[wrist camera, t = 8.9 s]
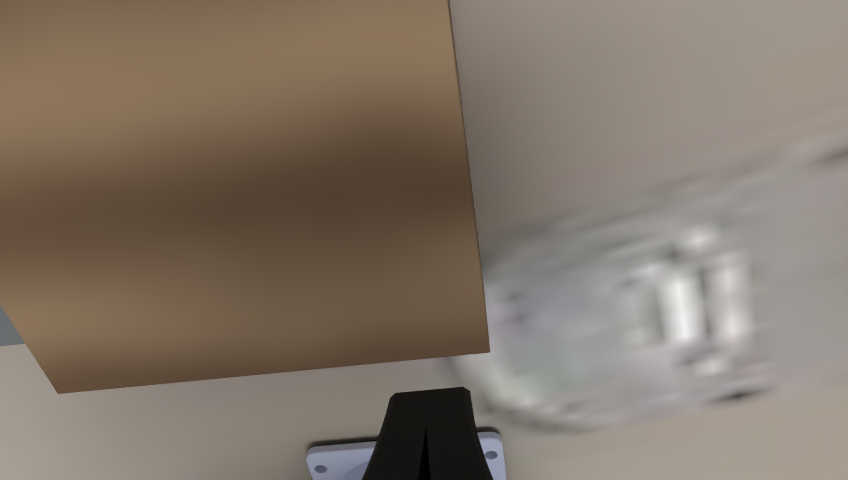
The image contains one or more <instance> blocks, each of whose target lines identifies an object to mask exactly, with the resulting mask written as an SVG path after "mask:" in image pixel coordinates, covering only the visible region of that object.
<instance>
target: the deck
mask: <svg viewBox="0 0 848 480" xmlns="http://www.w3.org/2000/svg"><path fill="white" fill-rule="evenodd" d="M0 305H1V306H2V308H3V310H4V311H5V313H6V314H7V316H8V317H9V319H10V320H11V322H12V323H13V325H14V327H15V328H16V330H17V331H18V333H19V334H20V336H21V337H22V339H23V340H24V342H25V343H26V345H27V347H28V348H29V350H30V351H31V353H32V354H33V356H34V357H35V359H36V360H37V362H38V364H39V365H40V367H41V368H42V370H43V371H44V373H45V374H46V376H47V377H48V379H49V380H50V382H51V384H52V385H53V387H54V388H55V390H56V391H57V393H58V394H61V393H72V392H82V391H93V390H103V389H113V388H124V387H134V386H145V385H155V384H165V383H176V382H186V381H197V380H207V379H218V378H228V377H238V376H249V375H259V374H270V373H280V372H290V371H301V370H311V369H322V368H332V367H343V366H353V365H363V364H374V363H384V362H395V361H405V360H415V359H426V358H436V357H447V356H457V355H468V354H478V353H488V352H490V346H489V336H488V325H487V315H486V305H485V294H484V285H483V277H482V269H481V260H480V252H479V244H478V235H477V227H476V219H475V210H474V202H473V194H472V186H471V177H470V169H469V161H468V152H467V144H466V136H465V127H464V119H463V111H462V102H461V94H460V86H459V77H458V69H457V61H456V53H455V44H454V36H453V28H452V19H451V11H450V3H449V0H0Z"/></svg>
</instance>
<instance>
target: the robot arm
mask: <svg viewBox="0 0 848 480" xmlns="http://www.w3.org/2000/svg"><path fill="white" fill-rule="evenodd" d="M306 463H307V465H308V468H309V471H310V473H311V476H312V478H313V480H507V477H506V469H505V461H504V452H503V444H502V438H501V436H500V435H499V434H498V433H495V432H479V433H477V430H476V426H475V421H474V415H473V408H472V401H471V395H470V391H469V390H467V389H466V388H464V387H456V388H445V389H434V390H424V391H413V392H402V393H395V394H394V395H393V396H392V397H391V398H390V401H389V405H388V408H387V412H386V415H385V418H384V422H383V425H382V428H381V431H380V434H379V437H378V440H377V441H373V442H362V443H350V444H338V445H326V446H316V447H312V448H310V449H309V450H308V451H307V455H306Z"/></svg>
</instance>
